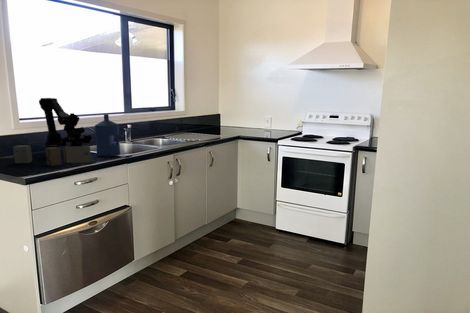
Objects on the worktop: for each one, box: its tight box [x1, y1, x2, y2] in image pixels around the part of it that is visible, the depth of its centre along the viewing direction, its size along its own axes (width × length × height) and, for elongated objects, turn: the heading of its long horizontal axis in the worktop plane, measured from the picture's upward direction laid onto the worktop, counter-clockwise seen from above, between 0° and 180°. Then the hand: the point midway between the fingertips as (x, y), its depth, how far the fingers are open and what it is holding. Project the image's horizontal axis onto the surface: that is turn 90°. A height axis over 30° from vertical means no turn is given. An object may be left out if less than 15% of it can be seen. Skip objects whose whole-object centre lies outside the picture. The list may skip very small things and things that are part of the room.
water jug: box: [94, 113, 121, 157], centre depth 251 cm, size 16×16×28 cm
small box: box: [12, 144, 33, 164], centre depth 226 cm, size 8×6×10 cm
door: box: [62, 145, 92, 164], centre depth 224 cm, size 16×3×10 cm, turn 98°
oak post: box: [45, 147, 62, 167], centre depth 220 cm, size 7×6×10 cm
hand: (81, 150), depth 226 cm, fingers closed
